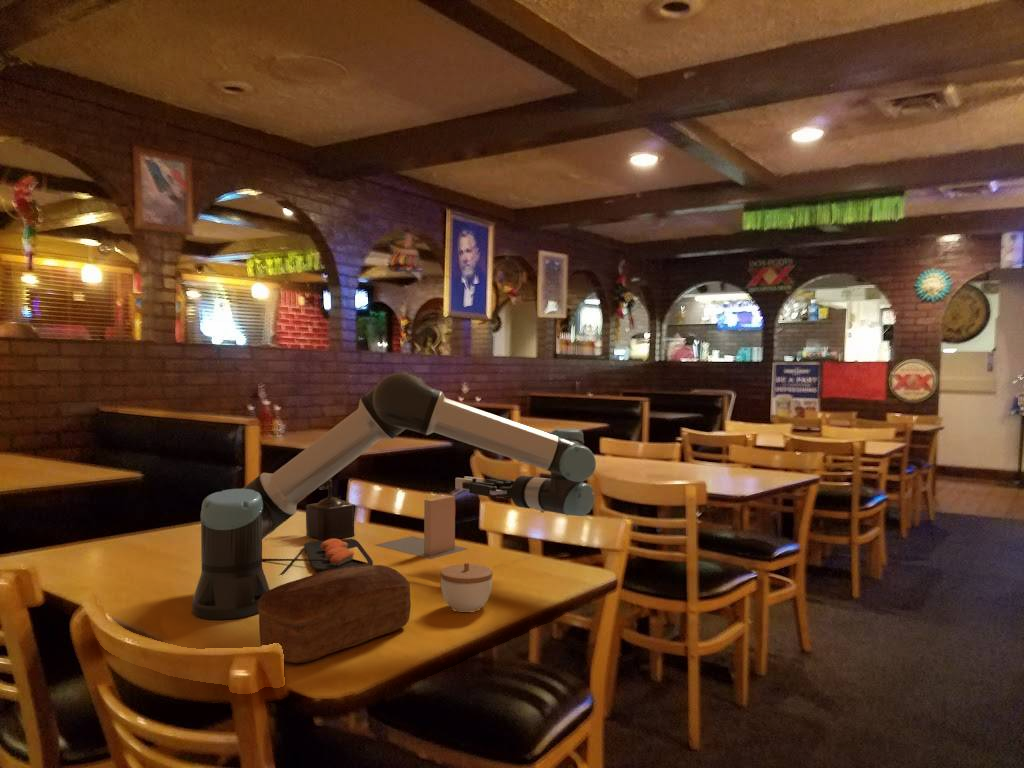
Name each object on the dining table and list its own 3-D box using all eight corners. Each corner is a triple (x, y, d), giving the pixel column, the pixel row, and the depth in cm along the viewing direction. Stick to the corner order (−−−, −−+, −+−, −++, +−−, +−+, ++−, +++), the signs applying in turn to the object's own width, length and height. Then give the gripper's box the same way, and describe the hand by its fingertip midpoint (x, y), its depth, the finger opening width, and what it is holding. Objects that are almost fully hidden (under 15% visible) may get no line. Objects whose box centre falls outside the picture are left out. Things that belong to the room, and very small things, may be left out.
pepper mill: (357, 536, 216) (357, 474, 215) (324, 542, 208) (324, 478, 208) (328, 527, 227) (328, 469, 226) (296, 533, 219) (296, 472, 218)
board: (468, 552, 198) (468, 548, 198) (431, 562, 187) (431, 558, 187) (412, 539, 212) (412, 536, 212) (374, 548, 201) (374, 544, 201)
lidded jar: (465, 596, 160) (465, 553, 160) (502, 607, 153) (503, 562, 153) (429, 609, 152) (429, 563, 151) (467, 620, 145) (468, 573, 145)
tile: (454, 548, 198) (455, 496, 197) (430, 555, 191) (430, 501, 191) (448, 547, 199) (448, 495, 199) (424, 553, 192) (424, 499, 192)
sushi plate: (375, 572, 180) (375, 556, 180) (245, 584, 170) (245, 567, 169) (355, 544, 208) (355, 531, 207) (242, 553, 197) (242, 539, 197)
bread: (245, 653, 128) (245, 583, 128) (373, 612, 150) (373, 552, 149) (292, 675, 119) (292, 600, 119) (420, 628, 141) (420, 564, 140)
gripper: (511, 513, 169) (439, 500, 184) (552, 504, 181) (480, 493, 196) (512, 480, 169) (439, 470, 184) (552, 473, 181) (481, 464, 196)
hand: (460, 482), depth 190 cm, fingers open, 3 cm apart
